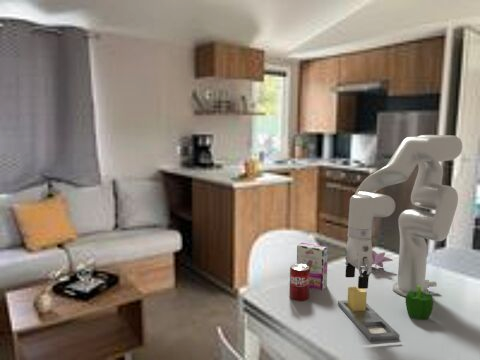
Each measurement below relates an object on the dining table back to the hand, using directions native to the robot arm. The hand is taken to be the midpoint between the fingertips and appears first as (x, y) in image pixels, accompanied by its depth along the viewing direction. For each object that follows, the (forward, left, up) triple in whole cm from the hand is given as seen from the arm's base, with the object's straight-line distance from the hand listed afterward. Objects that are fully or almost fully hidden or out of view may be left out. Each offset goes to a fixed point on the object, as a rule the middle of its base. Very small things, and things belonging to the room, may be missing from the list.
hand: (356, 282), depth 131 cm
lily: (-27, -37, -11) cm, 47 cm away
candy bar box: (+7, -23, -11) cm, 27 cm away
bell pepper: (-20, +6, -11) cm, 23 cm away
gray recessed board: (-1, +7, -11) cm, 13 cm away
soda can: (+15, -13, -11) cm, 23 cm away
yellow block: (-1, 0, -10) cm, 10 cm away
